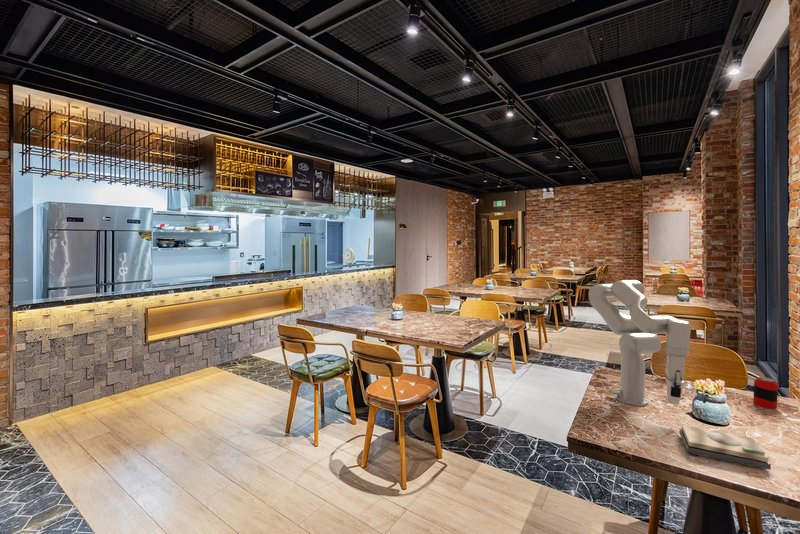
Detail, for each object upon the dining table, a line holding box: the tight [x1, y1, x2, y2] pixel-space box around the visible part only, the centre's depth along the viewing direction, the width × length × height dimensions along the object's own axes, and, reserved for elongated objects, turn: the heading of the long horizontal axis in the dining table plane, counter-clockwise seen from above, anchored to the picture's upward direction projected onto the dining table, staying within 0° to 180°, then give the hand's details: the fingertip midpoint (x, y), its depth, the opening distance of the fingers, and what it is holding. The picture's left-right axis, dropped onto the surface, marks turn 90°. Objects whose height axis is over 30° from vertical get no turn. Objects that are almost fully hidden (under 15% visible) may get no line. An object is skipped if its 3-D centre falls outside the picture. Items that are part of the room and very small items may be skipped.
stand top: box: [681, 424, 769, 462], centre depth 128 cm, size 20×14×2 cm
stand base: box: [678, 428, 772, 471], centre depth 128 cm, size 21×15×3 cm
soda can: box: [752, 376, 779, 410], centre depth 166 cm, size 8×8×12 cm
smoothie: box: [664, 376, 686, 406], centre depth 151 cm, size 6×6×14 cm
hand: (674, 393), depth 151 cm, fingers closed on smoothie, 6 cm apart
